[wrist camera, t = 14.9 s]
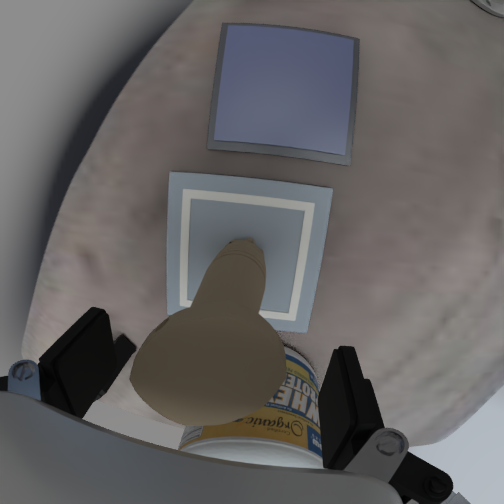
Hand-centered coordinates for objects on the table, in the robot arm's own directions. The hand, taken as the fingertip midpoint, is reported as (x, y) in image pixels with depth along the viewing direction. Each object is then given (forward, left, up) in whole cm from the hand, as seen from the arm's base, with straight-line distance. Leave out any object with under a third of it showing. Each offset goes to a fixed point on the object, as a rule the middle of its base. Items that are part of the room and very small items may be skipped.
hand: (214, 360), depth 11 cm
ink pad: (-13, +2, -15) cm, 20 cm away
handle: (0, 0, -14) cm, 14 cm away
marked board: (+1, 0, -15) cm, 15 cm away
